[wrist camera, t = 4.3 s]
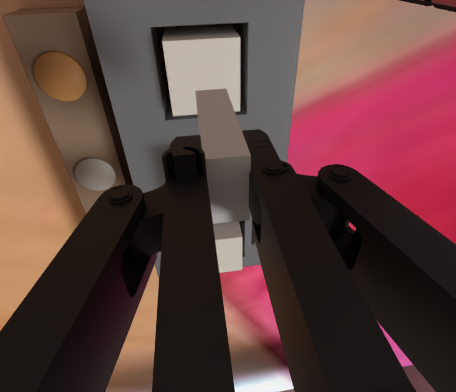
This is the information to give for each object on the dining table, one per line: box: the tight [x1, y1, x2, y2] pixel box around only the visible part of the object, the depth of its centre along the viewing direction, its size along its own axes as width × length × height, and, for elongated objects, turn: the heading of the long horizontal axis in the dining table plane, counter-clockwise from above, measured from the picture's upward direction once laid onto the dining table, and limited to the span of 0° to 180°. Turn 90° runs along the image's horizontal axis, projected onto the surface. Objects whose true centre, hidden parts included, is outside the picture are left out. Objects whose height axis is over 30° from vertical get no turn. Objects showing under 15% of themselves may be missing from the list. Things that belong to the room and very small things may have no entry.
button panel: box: [83, 0, 305, 277], centre depth 25 cm, size 24×12×4 cm, turn 1°
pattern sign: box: [2, 7, 133, 214], centre depth 25 cm, size 22×4×3 cm, turn 1°
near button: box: [162, 25, 240, 116], centre depth 20 cm, size 4×4×4 cm
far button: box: [213, 221, 242, 273], centre depth 28 cm, size 4×4×4 cm
